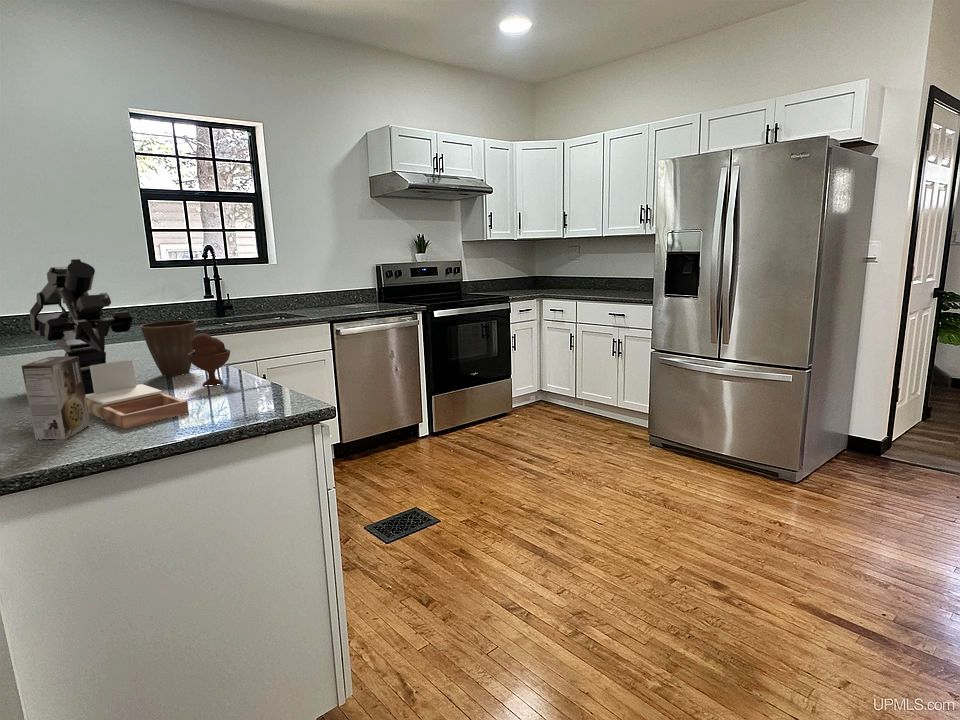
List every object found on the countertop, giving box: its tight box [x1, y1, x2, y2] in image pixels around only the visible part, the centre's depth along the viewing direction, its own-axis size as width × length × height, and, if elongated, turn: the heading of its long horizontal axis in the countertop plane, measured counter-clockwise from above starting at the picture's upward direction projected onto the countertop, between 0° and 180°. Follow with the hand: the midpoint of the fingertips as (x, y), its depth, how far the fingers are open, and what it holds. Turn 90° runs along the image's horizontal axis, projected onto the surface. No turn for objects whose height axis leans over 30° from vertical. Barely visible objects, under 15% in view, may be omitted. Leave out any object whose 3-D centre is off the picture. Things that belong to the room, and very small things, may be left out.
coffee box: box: [20, 355, 92, 441], centre depth 121 cm, size 9×6×16 cm
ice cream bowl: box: [187, 333, 231, 385], centre depth 161 cm, size 11×11×15 cm
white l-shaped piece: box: [85, 358, 163, 405], centre depth 139 cm, size 12×13×8 cm
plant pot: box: [140, 319, 197, 377], centre depth 175 cm, size 15×15×16 cm
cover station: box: [86, 392, 190, 430], centre depth 136 cm, size 24×14×3 cm, turn 52°
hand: (102, 350), depth 143 cm, fingers closed
